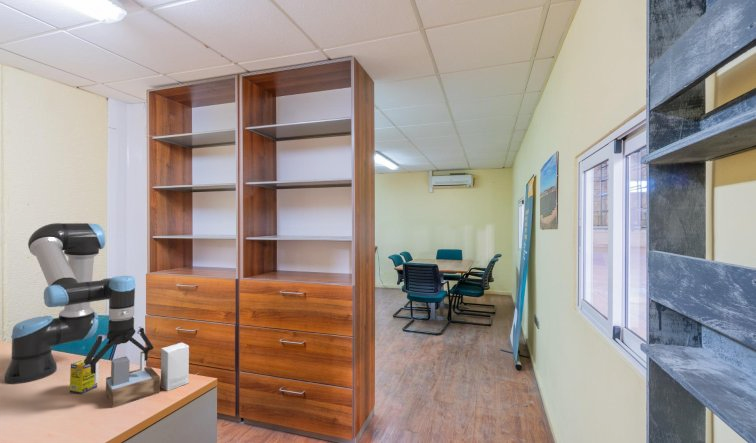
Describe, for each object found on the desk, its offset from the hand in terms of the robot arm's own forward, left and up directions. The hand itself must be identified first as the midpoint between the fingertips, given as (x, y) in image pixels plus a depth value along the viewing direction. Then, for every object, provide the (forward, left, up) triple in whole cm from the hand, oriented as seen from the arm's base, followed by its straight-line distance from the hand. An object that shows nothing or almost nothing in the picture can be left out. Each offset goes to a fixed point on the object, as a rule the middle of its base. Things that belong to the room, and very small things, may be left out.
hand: (120, 375), depth 122 cm
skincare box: (+4, +17, -8) cm, 19 cm away
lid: (0, +3, -3) cm, 4 cm away
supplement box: (-17, -8, -8) cm, 21 cm away
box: (0, +4, -8) cm, 9 cm away
